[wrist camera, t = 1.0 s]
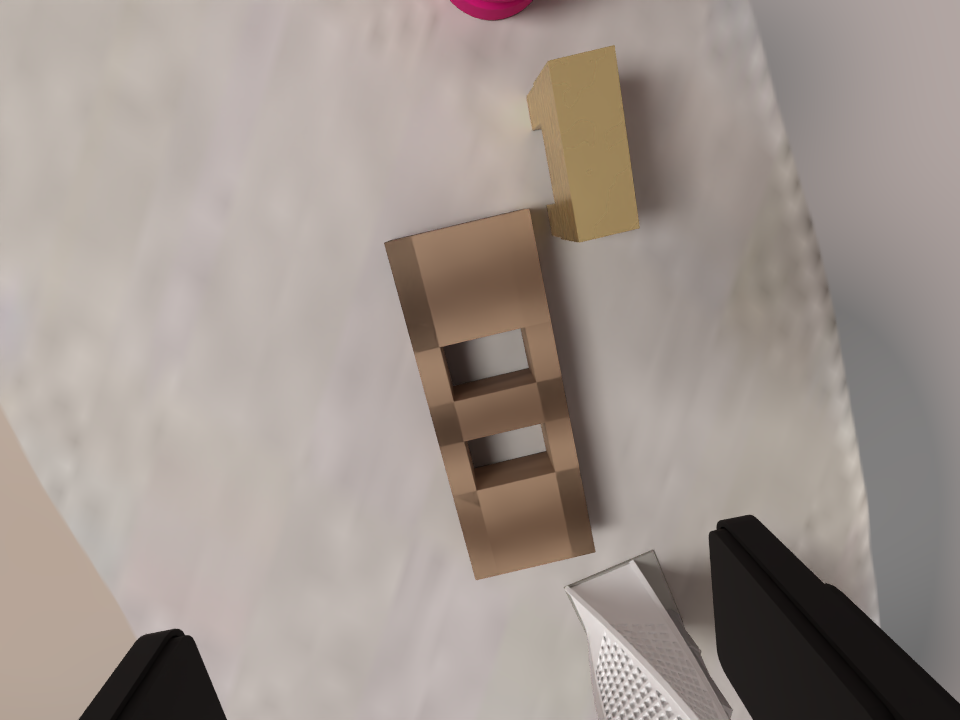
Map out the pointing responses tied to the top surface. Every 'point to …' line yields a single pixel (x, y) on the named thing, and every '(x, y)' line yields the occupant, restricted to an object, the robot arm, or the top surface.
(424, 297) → the rail
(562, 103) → the tan rectangular block
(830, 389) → the top surface
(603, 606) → the skyscraper
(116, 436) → the top surface
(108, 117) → the top surface
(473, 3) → the pepper mill
